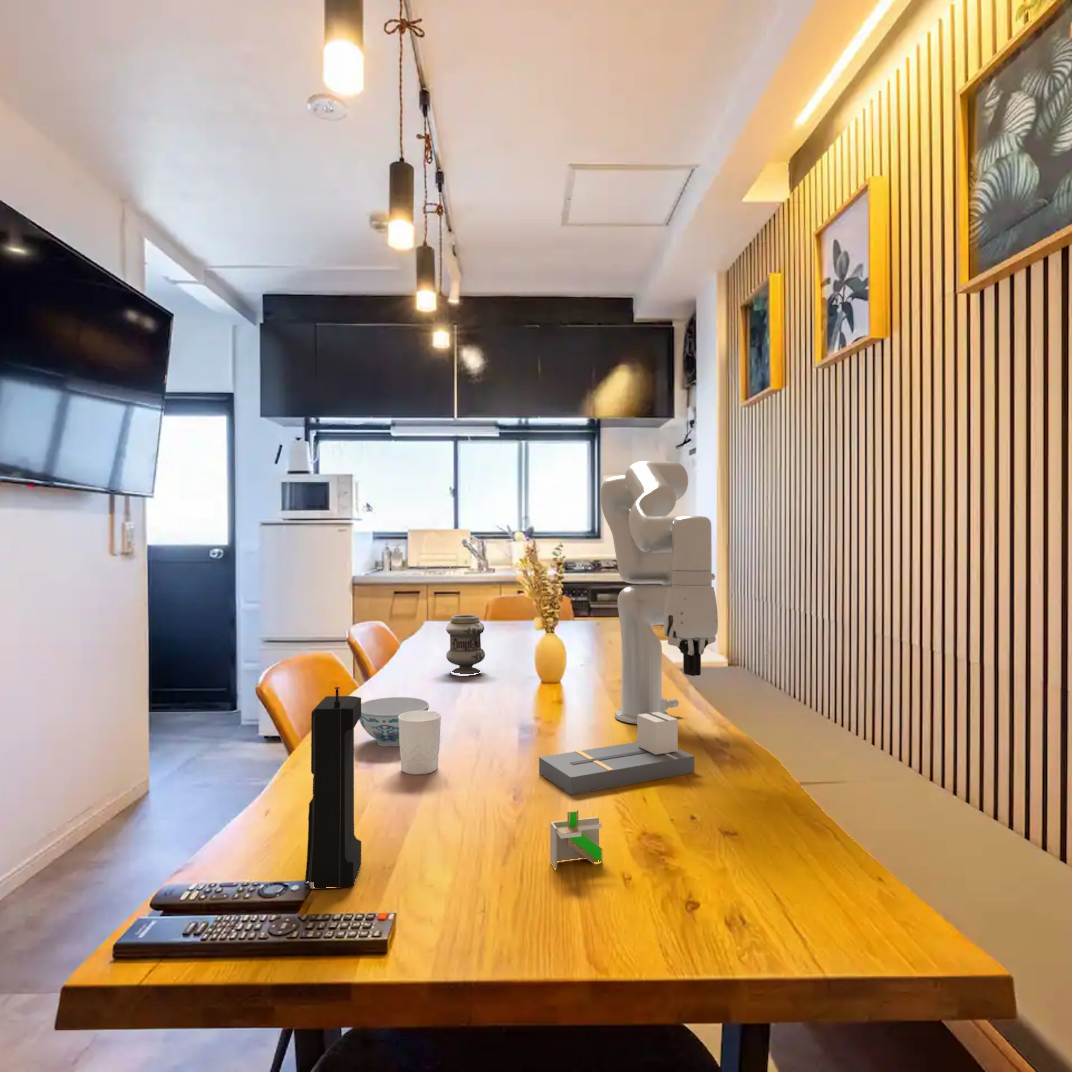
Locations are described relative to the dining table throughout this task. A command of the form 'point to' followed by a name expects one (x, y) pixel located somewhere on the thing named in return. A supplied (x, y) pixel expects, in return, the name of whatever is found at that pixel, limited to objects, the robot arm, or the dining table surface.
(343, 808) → the portable radio
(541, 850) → the dining table surface
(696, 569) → the robot arm
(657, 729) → the fader tab
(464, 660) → the apothecary jar
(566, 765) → the board
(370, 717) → the chinaware
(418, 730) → the white cup
